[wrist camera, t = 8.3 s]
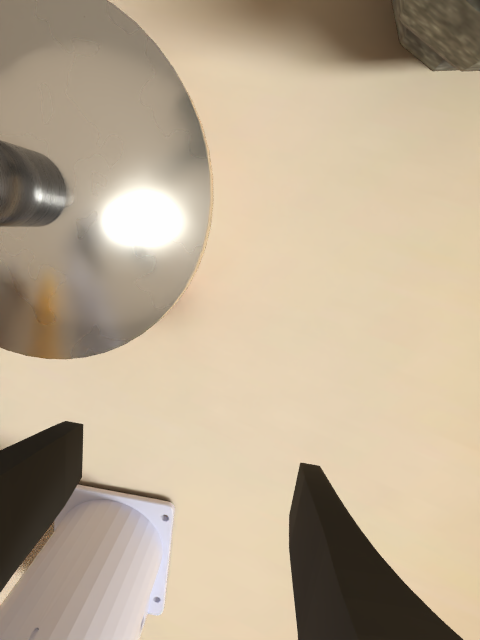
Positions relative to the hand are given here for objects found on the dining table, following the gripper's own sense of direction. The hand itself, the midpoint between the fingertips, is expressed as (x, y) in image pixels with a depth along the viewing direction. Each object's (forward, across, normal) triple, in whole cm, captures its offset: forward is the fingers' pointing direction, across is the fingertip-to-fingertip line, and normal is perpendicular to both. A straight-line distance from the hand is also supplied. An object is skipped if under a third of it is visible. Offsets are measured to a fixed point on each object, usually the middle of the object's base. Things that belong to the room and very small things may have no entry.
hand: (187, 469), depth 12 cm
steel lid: (+5, +8, -8) cm, 12 cm away
